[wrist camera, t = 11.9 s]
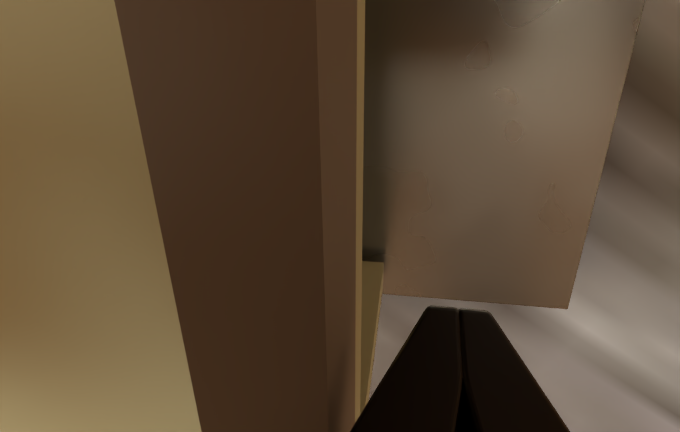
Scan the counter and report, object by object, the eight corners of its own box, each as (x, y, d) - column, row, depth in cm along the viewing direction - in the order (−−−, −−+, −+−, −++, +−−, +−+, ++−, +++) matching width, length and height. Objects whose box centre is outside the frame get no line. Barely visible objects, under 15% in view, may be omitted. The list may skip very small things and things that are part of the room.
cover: (382, 286, 17) (336, 659, 10) (128, 265, 18) (-89, 595, 10) (399, -154, 11) (314, -42, 4) (24, -154, 12) (-590, -61, 5)
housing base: (560, 279, 18) (590, 407, 14) (-108, 228, 20) (-228, 325, 17) (671, -193, 12) (774, -181, 8) (-309, -186, 14) (-571, -175, 10)
